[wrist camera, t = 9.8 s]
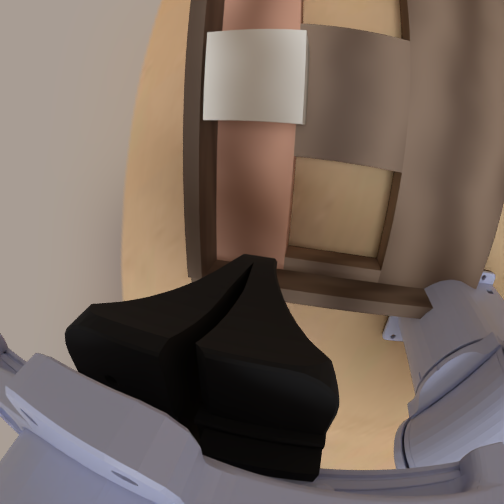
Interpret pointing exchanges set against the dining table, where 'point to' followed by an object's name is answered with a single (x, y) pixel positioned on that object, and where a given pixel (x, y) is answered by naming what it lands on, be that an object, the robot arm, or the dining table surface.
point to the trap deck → (357, 152)
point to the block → (257, 75)
